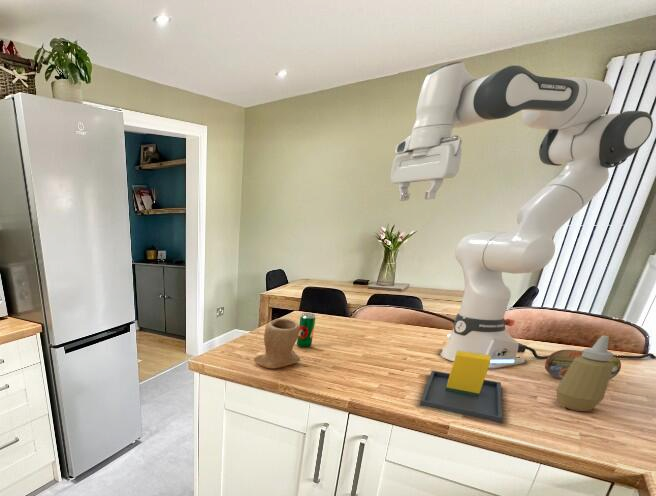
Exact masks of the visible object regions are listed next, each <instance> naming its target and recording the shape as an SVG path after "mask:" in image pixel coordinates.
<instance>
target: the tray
mask: <svg viewBox="0 0 656 496" xmlns="http://www.w3.org/2000/svg"><path fill="white" fill-rule="evenodd" d="M449 376H450V373H448V372H443V371H437V370H431V371H430V374H429V377H428V380H427V383H426V385H425V388H424V391H423V393H422V397H421V399H420V403H419V406H422V407H426V408H430V409H435V410H439V411H445V412H449V413H452V414H453V413H454V414H457V415H458V414H459V415H463V416H467V417H472V418H476V419H481V420H486V421H489V422H493V423H494V422H495V423H499V424H501V423H502V421H503V400H502V399H503V398H502V382H500V381H496V380H488V379H484V382H483V385H482V388H481V390H480V393H479V396H473V395H468V394H463V393H458V392H453V391H448V390H446V386H447V383H448V379H449Z"/></svg>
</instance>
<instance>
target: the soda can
mask: <svg viewBox="0 0 656 496" xmlns="http://www.w3.org/2000/svg"><path fill="white" fill-rule="evenodd" d="M316 319H317V318H316V314H315V313H312V312H302V313H301V315H300V317H299V324H298V325H299V335H298V338H297V340H296V345H297V347H298V348H302V349H307V348H311V346H312V344H313V337H314V330H315V325H316Z"/></svg>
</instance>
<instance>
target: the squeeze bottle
mask: <svg viewBox="0 0 656 496" xmlns="http://www.w3.org/2000/svg"><path fill="white" fill-rule="evenodd" d="M609 340H610V336H609V335H601V336H599V338H598V339H597V341H596V342H595V343H594V344H593V345H592V347H590V348H588V347H587V348H584V349H583V350H582V351H583V353H582V355H581V357H577V358H575V359H574V360H573V362H572V364H571V365H570V367H569V369H568V370H567V372H566V374H565V375H564V377H563V379H560V382H559V384H558V386H557V387H556V390H555V391H556V403H558V405H561V406H563V407H564V408H566V409H569V410H573V411H578V412H590V411H592V410H593V409H594V408H595V407H596V406H597V405H599V403H601V402H602V401H603V400H604V398H605V395H606V392H607V389H608V385H609V382H610V380H611V379H610V376H611V373H612V370H613V366H614V365H613V364H612V363H611V362H610V361H609V360H610V359H611V357H612V355H614V353H613V352H612V351H609V350H608V348H609ZM609 379H610V380H609Z"/></svg>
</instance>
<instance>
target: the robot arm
mask: <svg viewBox="0 0 656 496" xmlns="http://www.w3.org/2000/svg"><path fill="white" fill-rule="evenodd" d="M613 99H614V89H613V87H612V86H611V85H610V83H607V82H605V81H602V80H597V79H595V78H590V77H589V78H587V77H560V78H557V77H548V76H539V75H536V74H535V73H532V72H531V71H530V70H529V69H526V68H525V67H523V66H521V65H509V66H507V67H506V66H505V67H504V68H501V69H500V70H498V71H495V72H493V73H490V74H488V75H485V76H483V77H480V78H478V77H474V76H473V75H472V74H470V73H469V72H468V70H467V69H466V63H465V62H464V61H453V62H450V63H447V64H444V65H441V66H438V67H437V68H435V69H432V70H431V71H430V72H429V73H428V74H427V75H426V77H425V78H424V81H423V83H422V86H421V88H420V92H419V96H418V100H417V104H416V109H415V114H416V115H415V122H414V124H413V126H412V129H411V134H410V135H408V136H407V137H406V138H405V139H404V140H403V141H401V142H399V143H398V144H397V145H396V146H395V149H394V154H395V157H394V159H393V161H392V165H391V172H390V177H389V179H390V182H391V183H390V184H393V185H394V184H399V185H398V189H399V193H400V195H399V201H400V202H402V201H403V202H404V201H409V200H410V195H411V193H409V187H410V184H411V183H417V182H418V183H419V182H428V181H430V187H429V190H428V191H425V194H424V195H425V196H424V200H434V199H435V198H436V195H437V192H438V191H439V189H440V188H441V186H442V185H443V181H444V180H447V179H454V178H455V177H456V176H457V174H458V173H459V170H460V166H461V159H462V144H463V140H462V138H461V137H460V136H459V135H453V136H452V133H453V129H454V128H456V129H459V128H464V127H465V128H466V127H469V126H472V125H477V124H480V123H485V122H488V121H493V120H494V121H495V120H499V119H500V120H501V119H505V118H508V117H510V116H513V115H515V114H517V113H519V112H521V119H522V123H523V124H524V125H525V126H526V127H528V128H531V129H534V130H535V129H536V130H548V131H547V132H546V134H545V136H543V138H542V141H541V144H540V146H539V149H538V157H539V160H540V162H541V163H543V164H544V165H548V166H555V167H557V166H558V167H559V166H563V165H565V166H564V168H563V169H562V171H560V173H559V174H558V176H556V177H555V178H554V179H552V180H551V181H550V182H548V183H547V184H546V185H545V186H544V187H542V188H541V189H540V190H539V191H538V192H537V193H536V194H534V195H533V197H531V198H530V199H529V200H528V201H527V202H526V203H524V204H523V206H521V207H520V208H519V210H518V211H517V213H516V223H517V226H516V227H515V228H513V229H511V230H509V231H496V230H495V231H493V230H492V231H491V230H484V231H478V232H474V233H469V234H467V235H466V236H464V237H463V238H461V240H460V241H459V242H458V244H457V245H456V248H455V253H454V255H455V259H456V261H457V262H458V264H459V265H460V266H461V269H462V272H463V277H464V291H463V296H462V301H461V304H460V307H459V311H458V313H456V315H455V319H454V322H453V328H452V330H451V332H450V334H447V341H446V343H445V345H444V346H443V347H442V350H441V352H440V357H441V358H443V359H445V360H448V361H451V362H454V359H455V356H456V353H457V351H463V352H470V353H477V354H484V355H490V356H491V361H490V364H489V367H488V369H498V368H499V369H500V368H505V367H510V366H516V365H521V364H525V362H526V360H525V359H524V358H523V357H521V356H519V357H516V355H517V354H519V353H520V354H523V353H524V354H525V352H526V350H527V351H530V352H531V353H532V355H534V356H533V357H534V358H536V359H538V360H546V359H547V358H548V357H549V356H550V355H546V356H542V355H539V354H538V353H537V351H536V350H535V349H534V348H532V347H530V346H527V344H526V345H525V344H523V343H520V342H518V341H517V340H515V339H514V337H512V336H511V335H510V334H509V333H508V332H507V330H506V326H508V327H513V326H514V325H515V323H516V320H515V319H510V318H506V319H505V314H506V312H507V309H508V306H509V303H510V300H511V297H512V291H511V289H510V288H509V287H508V286H507V285H506V284H505V282H504V279H503V273H507V274H530V273H531V274H532V273H536V272H539V271H541V270H543V269H544V268H545V267H546V266H547V265H549V263H550V262H551V261H552V259H553V258H554V257H555V252H556V244H555V241H554V239H553V238H554V236H555V234H556V233H557V232H558V231H559V230H560V229H561V228H562V227H563V226H564V225H565V224H566V223H567V222H568V221H570V220H571V219H572V218H573V217H574V216H575V215H576V214H577V213H578V212H580V211H581V210H582V209H583V208H584V207H585V206H587V205H588V203H590V202H591V201H592V199H593V198H594V197H596V196H597V194H598V193H599V192H600V191H601V190H602V189H603V187H604V186H605V185H606V184H607V182H608V180H609V177H610V176H609V175H610V172H609V169H611V168H615V167H617V166H619V165H621V164H623V163H624V162H626V161H627V160H628V158H629V157H631V156H633V155H634V154H635V153H636V152H637V151H638V150H639V149H640V148H641V147H642V146H643V145H644V144H645V143H646V142H647V141H648V140H649V138H650V136H651V134H652V132H653V126H654V121H653V117H652V115H651V114H650V113H649V112H647V111H642V110H627V111H623V112H618V113H608V114H606V111H607V110H608V109H609V107H610V106H611V103H612V102H613ZM613 355H614V356H616V357H617V358H618V359H629V360H630V359H631V360H632V359H633V360H634V359H636V360H639V359H644V358H648V357H650V358H651V359H656V355H655V354H653V353H652V352H651V353H645V354H642V355H624V354H622V355H621V354H613ZM617 355H618V356H617ZM517 356H518V355H517ZM520 357H521V358H520ZM517 358H519V359H517Z"/></svg>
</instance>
